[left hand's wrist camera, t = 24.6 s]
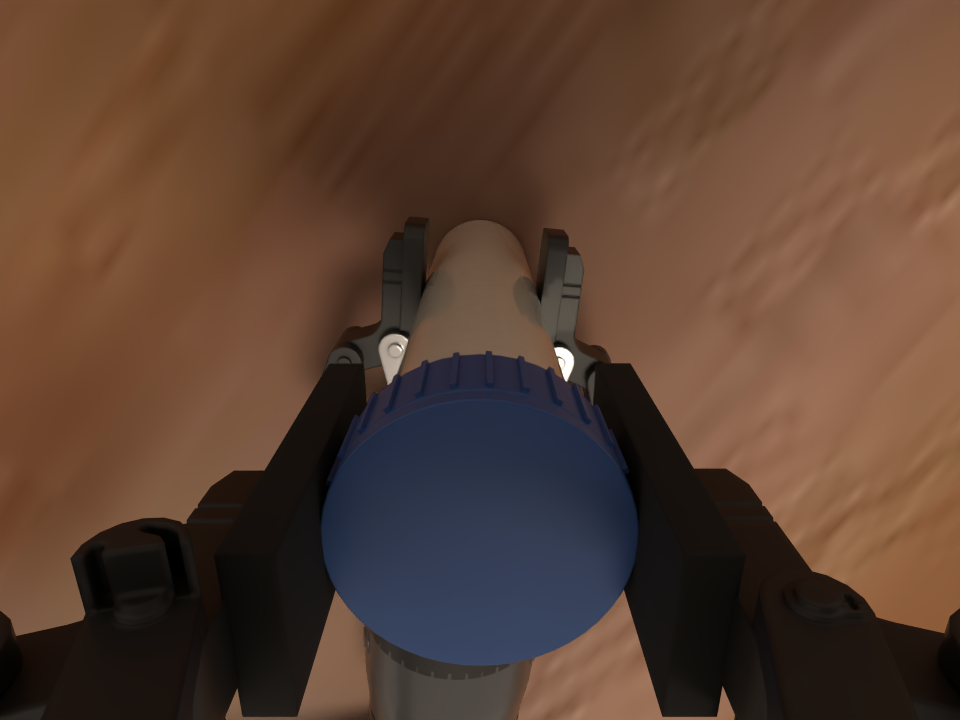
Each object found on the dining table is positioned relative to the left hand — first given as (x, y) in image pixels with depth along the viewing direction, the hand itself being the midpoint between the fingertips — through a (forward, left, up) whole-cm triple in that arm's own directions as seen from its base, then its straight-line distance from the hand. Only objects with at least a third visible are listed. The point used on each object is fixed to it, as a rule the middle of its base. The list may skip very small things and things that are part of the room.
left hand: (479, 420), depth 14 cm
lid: (0, 0, +4) cm, 4 cm away
